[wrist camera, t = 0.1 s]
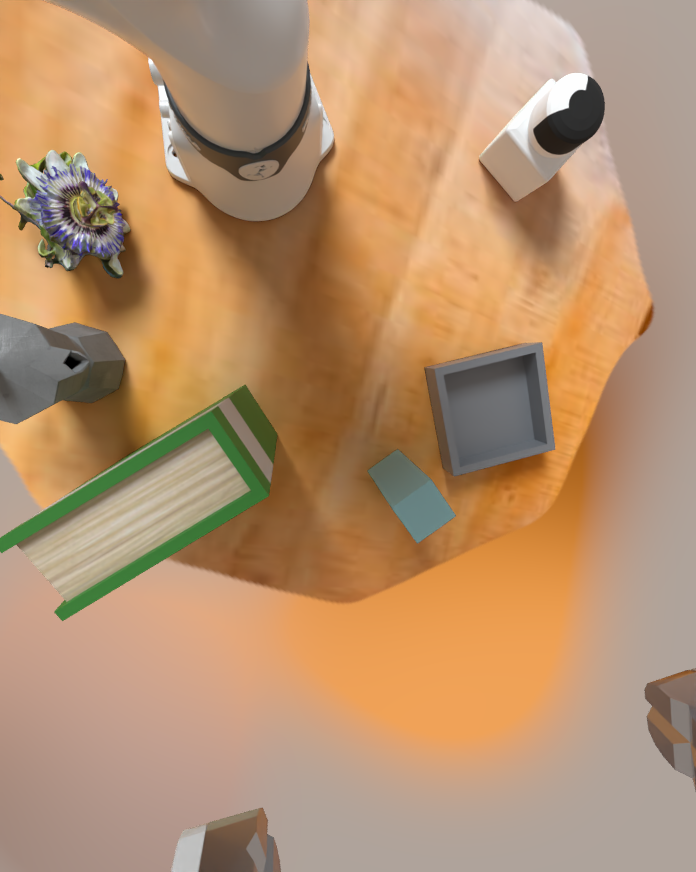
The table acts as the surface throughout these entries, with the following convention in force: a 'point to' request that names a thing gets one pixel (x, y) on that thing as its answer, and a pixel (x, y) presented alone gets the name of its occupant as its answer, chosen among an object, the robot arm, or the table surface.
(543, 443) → the box
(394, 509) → the tall teal prism
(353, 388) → the table surface
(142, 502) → the hardback book
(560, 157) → the medicine bottle
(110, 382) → the coffeepot
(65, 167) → the passion flower
